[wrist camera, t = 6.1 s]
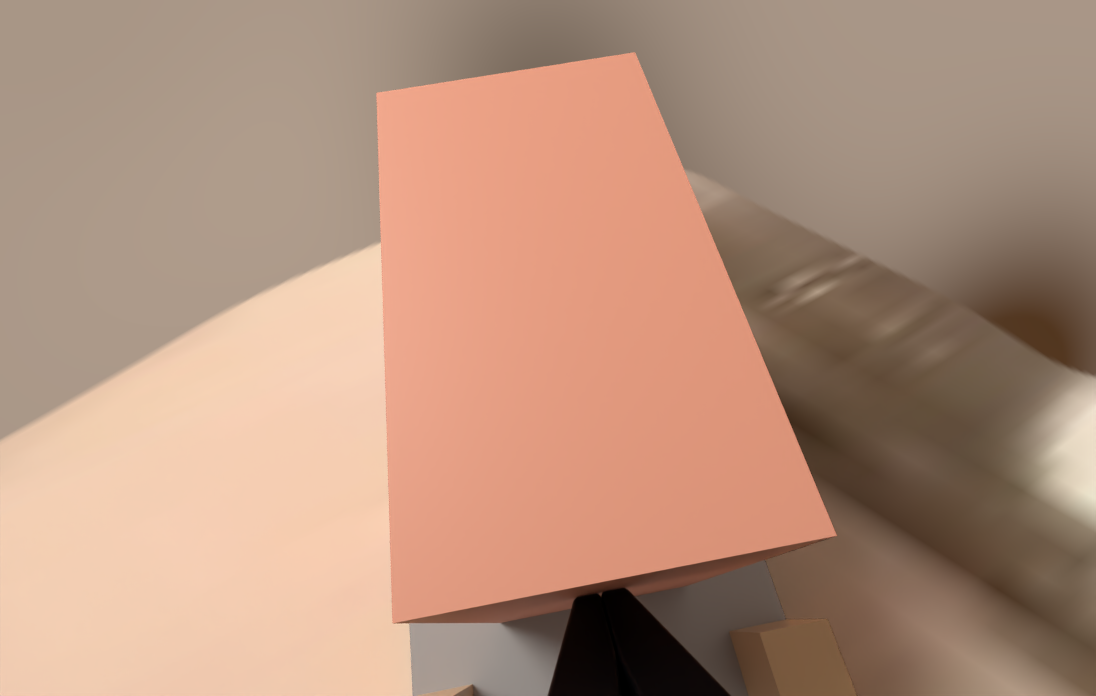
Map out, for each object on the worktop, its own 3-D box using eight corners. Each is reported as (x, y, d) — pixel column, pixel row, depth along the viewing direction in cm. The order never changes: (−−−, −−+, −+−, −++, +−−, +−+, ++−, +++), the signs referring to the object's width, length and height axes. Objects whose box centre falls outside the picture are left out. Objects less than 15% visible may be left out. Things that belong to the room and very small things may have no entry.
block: (686, 585, 14) (837, 535, 6) (500, 623, 14) (392, 623, 6) (609, 304, 18) (635, 52, 10) (465, 329, 18) (376, 93, 10)
